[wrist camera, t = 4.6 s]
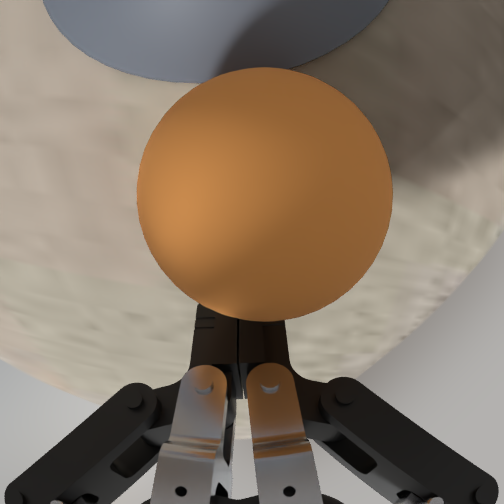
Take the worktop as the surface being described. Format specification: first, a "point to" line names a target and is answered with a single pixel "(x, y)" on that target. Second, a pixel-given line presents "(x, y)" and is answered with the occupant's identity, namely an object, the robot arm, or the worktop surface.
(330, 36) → the disc
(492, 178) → the worktop surface
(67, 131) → the worktop surface
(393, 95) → the worktop surface
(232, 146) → the ball
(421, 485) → the robot arm
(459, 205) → the worktop surface
